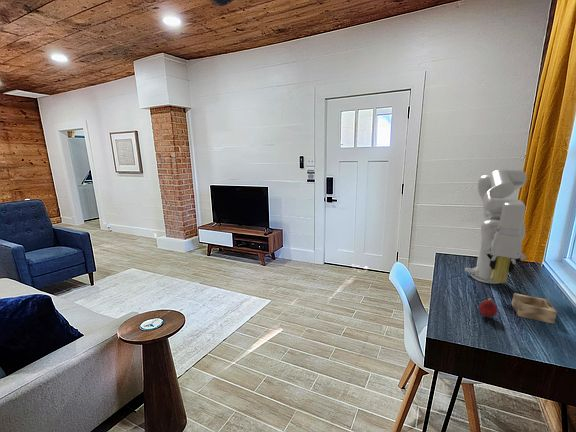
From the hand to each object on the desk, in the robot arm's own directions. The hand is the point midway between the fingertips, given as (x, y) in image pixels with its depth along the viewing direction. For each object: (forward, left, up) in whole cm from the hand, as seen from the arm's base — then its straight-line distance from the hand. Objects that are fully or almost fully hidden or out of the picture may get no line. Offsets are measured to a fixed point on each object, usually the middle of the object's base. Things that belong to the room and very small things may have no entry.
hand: (500, 269), depth 122 cm
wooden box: (+11, -8, -14) cm, 19 cm away
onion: (-6, -21, -14) cm, 26 cm away
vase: (0, 0, -5) cm, 5 cm away
